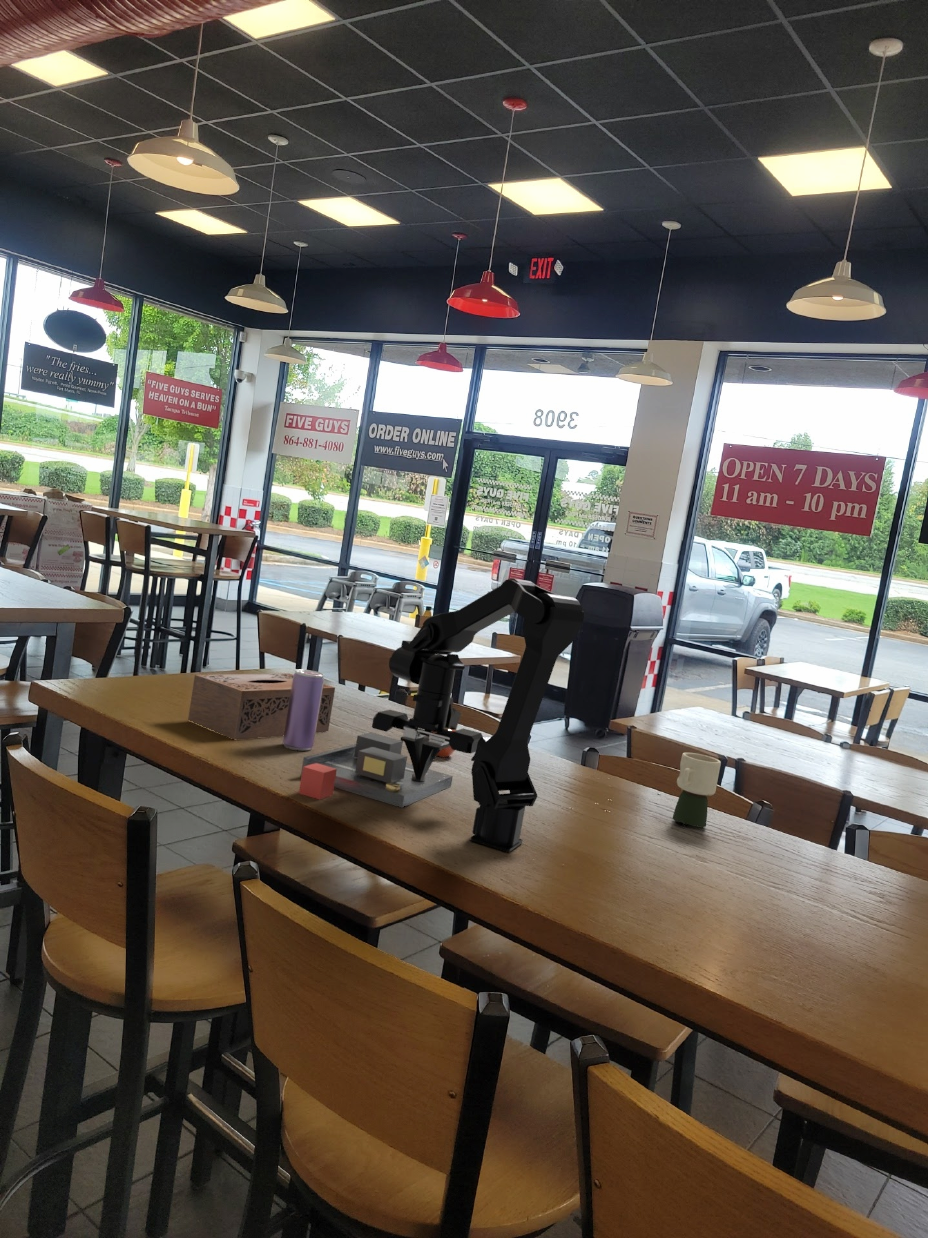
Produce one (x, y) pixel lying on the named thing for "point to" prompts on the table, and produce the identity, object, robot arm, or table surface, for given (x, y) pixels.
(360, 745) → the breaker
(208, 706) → the tissue box cover
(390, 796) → the breaker panel
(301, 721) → the beverage can
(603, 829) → the table surface
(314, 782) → the cap
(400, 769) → the block
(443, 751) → the tomato
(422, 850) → the table surface
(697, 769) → the character mug
